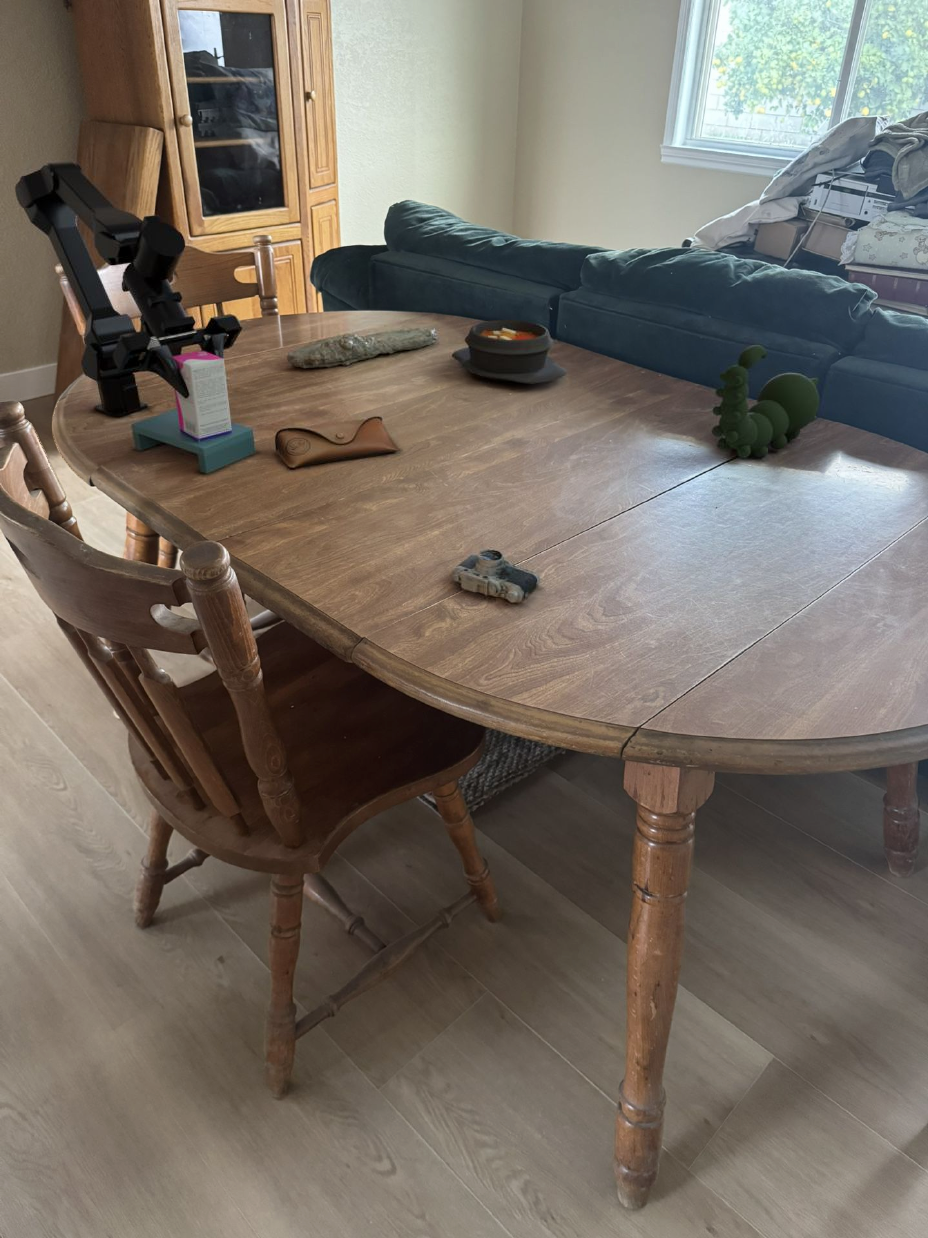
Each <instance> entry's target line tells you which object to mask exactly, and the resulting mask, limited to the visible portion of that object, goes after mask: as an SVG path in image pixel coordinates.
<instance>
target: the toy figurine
mask: <svg viewBox="0 0 928 1238" xmlns="http://www.w3.org/2000/svg"><path fill="white" fill-rule="evenodd" d="M760 358H761V359H766V358H767V351H766V349H765V347H764V346H761V345H759V344H755V345H754V344H753V345H750V346H748V347H747V348H745V349H744V350H742V352H741V353H740V354H739V356H738V359H737V364H735V365H731V366H729V367H728V368H727V369H726V371H723V372H720V374H719V380H721V381H722V382H724V384H723V386H720V387H717V388H716V390H715V395H716V396H717V397H718V398H721V399H722V401H721V402H720V404H719V405H718V404H717V405H715V406H714V407H713V409H712V413H713V415H715V416H720V418H719V420H718V424H716V425H715V426H712V429H711V434H712V435H713V437H715V438H718V440H717V442H716V446H717V448H718V449H719V450H721V451H725V450H728V449H729V448H732V449H734V450H736V453H737V456H738V457H739V458H744V459H745V458H747V457H749V456H750V455H751V453H753V454H754V456H756V457H757V458H759V459H762V458H765V457H766V456H767V455H768V453H769V448H768V447H767V446H768V445H770V447H771V448H772V449H774V450H782V449H784V448H785V446H786V445H787V443H788V441H791V440H795V439H797V438H798V437H799V436H800V434H801V430H802V429H803V428H805V427H807V426H808V425H809V424H810V423H812V422H814V421H815V420H816V415H817V414H818V410H819V406H820V396H819V392H818V389H817V385H818V383H819V378H818V377H813V378H808V377H807V376H806V375H803V374H802V373H797V372H785V373H781V374H778V375H776V376H774V377H771V379H769V380H768V381H767V382H765V384H764V385H763V386H762V388H761V389H760V391H759V393H758V396H757V400H756V403H754V404H753V405H752V406H751V407H750V406H749V402H748V401H747V399H748V396H749V394H750V393H749V392H750V391H749V386H748V384H747V383H748V381H749V373H748V370H749V369H751V368H752V367H754V365H756V363H757V362H758V361H759V360H760Z"/></svg>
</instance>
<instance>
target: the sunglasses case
mask: <svg viewBox="0 0 928 1238" xmlns="http://www.w3.org/2000/svg"><path fill="white" fill-rule="evenodd" d="M274 445H275V450H276V454H277V455H278V457H279V459H280V460H281V461H282V462H283V463H284V465H286V466H287V467H288V468H290V469H296V468H301V467H306V466H310V465H317V464H325V463H332V462H339V461H346V460H347V461H348V460H355V459H357V460H358V459H363V458H371V457H375V456H380V455H384V454H389V453H392V452H398V451H399V449H398V448H397V447H396V446H395V445H394V443H393V442H392V440H391V437H390V435H389V433H388V431H387V429H386V427H385V424H384V423H383V418H382V417H381V416H378V415H374V416H370V417H366V418H363V419H356V420H346V421H336V422H329V423H322V424H315V425H308V426H302V427H300V426H299V427H298V426H296V427H295V426H293V427H285V428H281V429H279V430H278V431H277V432H276V433H275V436H274Z"/></svg>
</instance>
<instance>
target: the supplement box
mask: <svg viewBox="0 0 928 1238" xmlns="http://www.w3.org/2000/svg"><path fill="white" fill-rule="evenodd" d="M173 358H174V360H175V362H176V364H177V366H178V369H179V371H180V373H181V375H182V377H183V379H184V381H185V383H186V386H187V388H188V391H189V397H188V398H186V399H185V398H184V397H183V396H182V395H181V394H180V393H179V392H177V391H176V390H175V389H174V394H175V401H176V402H175V403H176V408H177V410H178V418H179V425H180V432H181V433H183V434H185V435H187V436H189V437H191V438H192V439H194V440H196V441H198V442H204V441H207V440H210V439H214V438H217V437H221V436H225V435H228V434H231V433H232V429H231V422H232V420H231V412H230V411H231V410H230V404H229V392H228V383H227V375H226V366H225V359H224V358H223V359H222V358H220V357H218V356H215V355H213V354H211V353H208V352H206V351H202V350H197V351H193V352H188V353H184V354H181V355H177V356H173Z"/></svg>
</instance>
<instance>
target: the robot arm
mask: <svg viewBox="0 0 928 1238" xmlns="http://www.w3.org/2000/svg"><path fill="white" fill-rule="evenodd" d="M14 189H15V190H14V193H15V196H16V200H17V203H18V204H19V206H20V207H21V208H22V209H23V210H24V212H25V214H26V215H27V218H28V220H29V222H30V223H31V225H34V226H35V227H36V228H37V229H38V230H39V231H41V232H43V233H44V234H45V235H46V236H47V237H48V239H49V242H50V243H51V245H52V247H53V250H54V252H55V254H56V257H57V259H58V261H59V263H60V265H61V267H62V270H63V273H64V275H65V277H66V279H67V281H68V283H69V285H70V286H69V287H70V288H71V290H72V292H73V294H74V297H75V299H76V301H77V304H78V306H79V308H80V310H81V313H82V315H83V317H84V320H85V326H84V327H85V328H84V335H83V342H84V345H85V349H84V352H83V355H82V358H81V360H80V366H81V368H82V370H83V374H84V376H85V377H87V378H89V379H91V380H93V381H95V382H96V383H97V389H98V395H99V398H100V399H99V400H100V403H99V404H97V405H95V406H94V405H93V410H95V411H97V412H100V413H104V414H105V415H106V414H107V415H109V416H112V417H115V418H120V417H124V416H127V415H129V414H132V413H135V412H139V411H141V410H144V409H147V408H149V405H148V404H147V403H145V402H142V401H141V400H140V399H141V398H140V393H139V388H138V384H137V381H136V375H135V373H145V372H149V373H153V374H156V375H157V376H159V377H160V378H162V380H164V381H165V382H166V383H168V385H169V386H170V387H172V389H173V390H174V391H175V390H176V391H177V392H179V393H180V394H181V395H182V396H183V397H184V398H185V399H186V398H188V397H189V391H188V388H187V386H186V383H185V381H184V379H183V377H182V375H181V373H180V371H179V369H178V366H177V364H176V362H175V360H174V358H173V356H177V355H182V350H183V348H186V347H190V346H196V345H198V346H199V348H200V351H206V352H208V353H211V354H213V355H215V356H218V357H220V358H222V359H224V350H229V349H230V348H232V347H234V344H235V342H236V341H237V339H238V337H239V335H240V334H241V332H242V330H243V328H244V327H243V325H242V323H241V322H240V320H239V318H238V317H237V316H236V315H235V314H232V313H228V314H224V315H218V316H213V317H210V318H209V321H208V322H207V324H206V326H205V328H200V329H195V328H194V327H195V325H196V323H197V322H196V319H195V318H194V316H192V315H191V316H188V314H187V313H186V311H185V310H184V307H183V305H182V304H181V303H182V302H181V301H182V300H183V296H182V294H181V292H180V291H175V290H174V289H173V287H172V285H171V283H170V282H169V280H170V279H171V278H172V277H173V276H174V274H175V272H176V270H177V268H178V265H179V263H180V261H181V259H182V255H183V254H184V251H185V248H186V240H185V238H184V235H183V233H182V232H181V231H179V230H178V228H176V227H174V226H173V225H171V224H170V223H167V222H164V221H161V219H160V217H159V215H158V214H153V215H152V214H151V215H146V216H145V215H144V216H143V219H141V218H139V217H138V216H137V215H136V214H133V213H132V212H128V211H126V210H123V209H122V210H121V209H118V208H117V207H116V206H115V205H114V204H113V203H112V202H111V201H109V199H108V198H107V197H106V196H105V195H104V194H103V193H102V192H101V191H100V190H99V189H98V188H97V187H96V185H94V184H93V183H92V182H91V181H90V180H89V178H87V176H86V175H85V174H84V172H83V170H82V167H81V166H80V165H79V164H78V163H77V162H73V161H64V162H63V161H60V162H48V163H46V164H45V165H43V166H41V168H40V169H38V170H35V171H33V172H31V173H28V174H26V175H21V176H20V178H19V180H18V182H17V183H16V184H15V185H14ZM78 218H79V219H80V220H81V221H82V222H83V224H84V225H86V227H87V228H88V229H89V230H90V231H91V232H92V234H93V246H94V248H95V250H96V251H97V253H98V255H99V256H100V257H101V258H102V259H103V261H104V262H105V263H106V264H108V265H109V266H112V267H113V266H119V265H127V266H126V267H125V269H124V271H123V273H122V277H121V278H122V281H121V290H122V292H124V293H127V292H129V293H130V296H131V297H132V299H133V301H134V302H135V305H136V307H137V309H138V310H139V312H140V314H141V315H140V317H139V321H140V324H141V327H142V329H143V330H139V331H137V329H136V328H135V325H134V322H133V320H132V318H131V316H130V315H128V314H127V313H124V314H121V313H120V312H118V311H117V310H116V309H115V308H114V306H113V304H112V301H111V299H110V296H109V295H108V293H107V291H106V288H105V286H104V284H103V281H102V279H101V277H100V274H99V272H98V270H97V268H96V266H95V263H94V261H93V258H92V256H91V254H90V252H89V250H88V247H87V245H86V243H85V240H84V238H83V236H82V233H81V231H80V229H79V226H78V224H77V221H78Z"/></svg>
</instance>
